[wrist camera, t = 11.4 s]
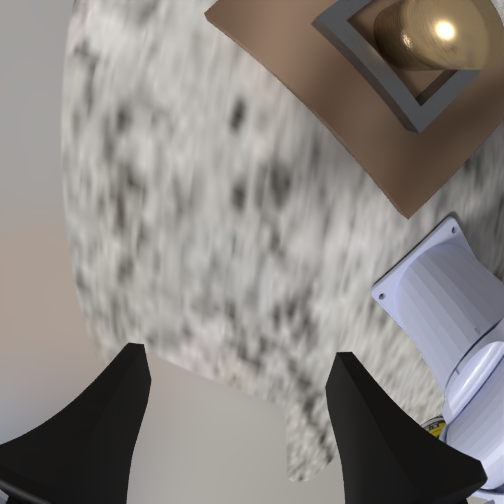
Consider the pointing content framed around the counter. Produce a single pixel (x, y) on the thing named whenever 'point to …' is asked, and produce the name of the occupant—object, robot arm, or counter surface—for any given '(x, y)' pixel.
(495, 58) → the brass cylinder
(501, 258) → the counter surface
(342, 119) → the jig plate
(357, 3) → the frame
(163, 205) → the counter surface
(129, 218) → the counter surface
